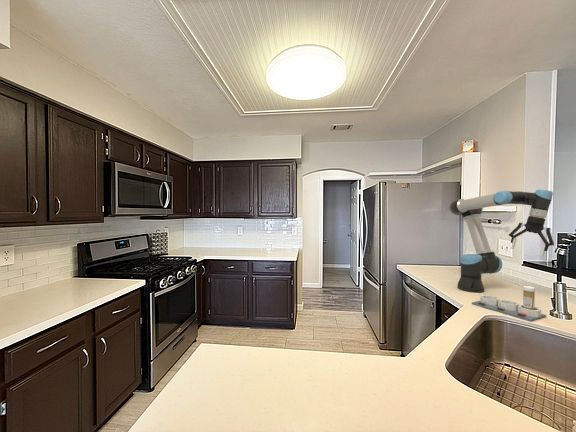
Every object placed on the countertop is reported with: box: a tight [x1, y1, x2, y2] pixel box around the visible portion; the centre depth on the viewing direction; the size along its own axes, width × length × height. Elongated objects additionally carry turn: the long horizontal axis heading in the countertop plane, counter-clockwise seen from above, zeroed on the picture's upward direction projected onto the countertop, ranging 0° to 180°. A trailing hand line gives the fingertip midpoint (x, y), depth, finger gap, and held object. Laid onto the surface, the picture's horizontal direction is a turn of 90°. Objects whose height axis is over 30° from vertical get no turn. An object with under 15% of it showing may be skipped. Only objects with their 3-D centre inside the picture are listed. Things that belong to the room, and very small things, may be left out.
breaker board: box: [471, 294, 547, 323], centre depth 145 cm, size 27×15×4 cm, turn 26°
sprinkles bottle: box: [522, 285, 536, 310], centre depth 138 cm, size 5×5×14 cm
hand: (526, 252), depth 160 cm, fingers open, 13 cm apart
